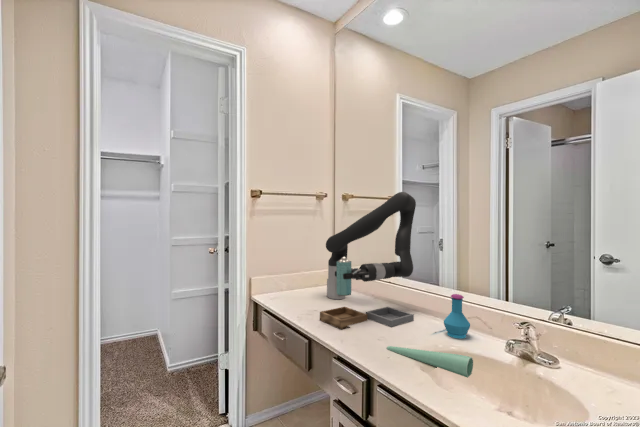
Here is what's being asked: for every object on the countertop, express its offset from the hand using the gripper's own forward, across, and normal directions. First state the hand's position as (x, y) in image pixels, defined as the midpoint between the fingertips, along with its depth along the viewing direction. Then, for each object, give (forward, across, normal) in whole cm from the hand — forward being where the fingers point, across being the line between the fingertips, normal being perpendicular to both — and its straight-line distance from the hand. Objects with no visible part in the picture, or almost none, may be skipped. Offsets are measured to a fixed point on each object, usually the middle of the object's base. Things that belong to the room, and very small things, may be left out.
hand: (339, 275), depth 137 cm
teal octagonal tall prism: (-2, 0, +8) cm, 8 cm away
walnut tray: (-2, 0, +20) cm, 20 cm away
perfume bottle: (-33, +31, +20) cm, 49 cm away
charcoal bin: (-20, +8, +20) cm, 29 cm away
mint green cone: (-6, +42, +20) cm, 47 cm away
